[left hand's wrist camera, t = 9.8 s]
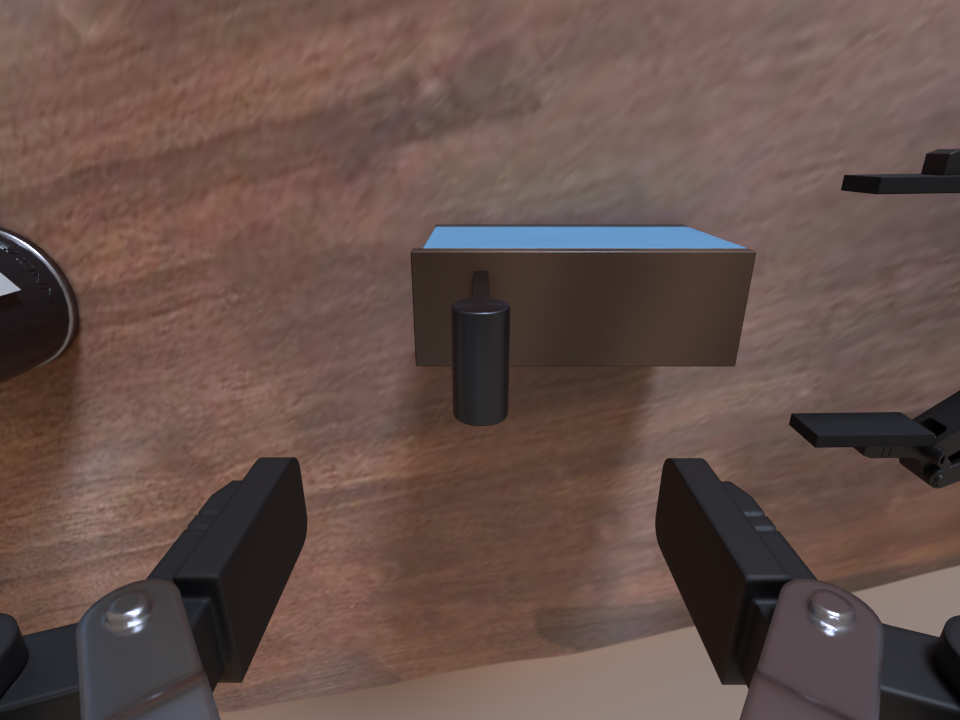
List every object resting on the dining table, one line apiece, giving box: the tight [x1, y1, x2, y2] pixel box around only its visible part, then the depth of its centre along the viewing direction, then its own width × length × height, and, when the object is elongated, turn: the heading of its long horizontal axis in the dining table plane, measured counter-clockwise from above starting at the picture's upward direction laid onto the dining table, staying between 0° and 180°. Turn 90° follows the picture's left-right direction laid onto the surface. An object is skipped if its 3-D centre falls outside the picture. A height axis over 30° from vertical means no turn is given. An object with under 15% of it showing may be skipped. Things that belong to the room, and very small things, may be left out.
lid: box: [411, 248, 756, 426], centre depth 22 cm, size 16×6×8 cm, turn 90°
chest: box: [423, 225, 745, 248], centre depth 30 cm, size 15×6×9 cm, turn 90°
